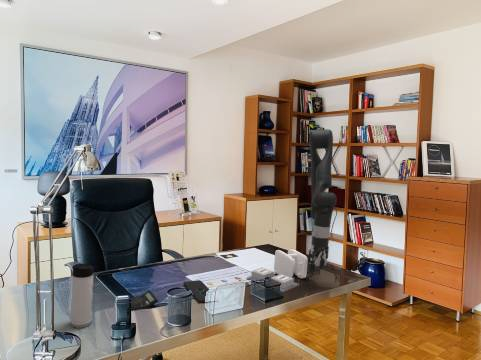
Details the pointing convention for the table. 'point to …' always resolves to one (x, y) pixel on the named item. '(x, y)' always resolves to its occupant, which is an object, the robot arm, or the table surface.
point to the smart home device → (197, 290)
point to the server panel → (274, 278)
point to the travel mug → (82, 295)
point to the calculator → (143, 301)
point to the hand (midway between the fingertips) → (317, 269)
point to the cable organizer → (290, 263)
